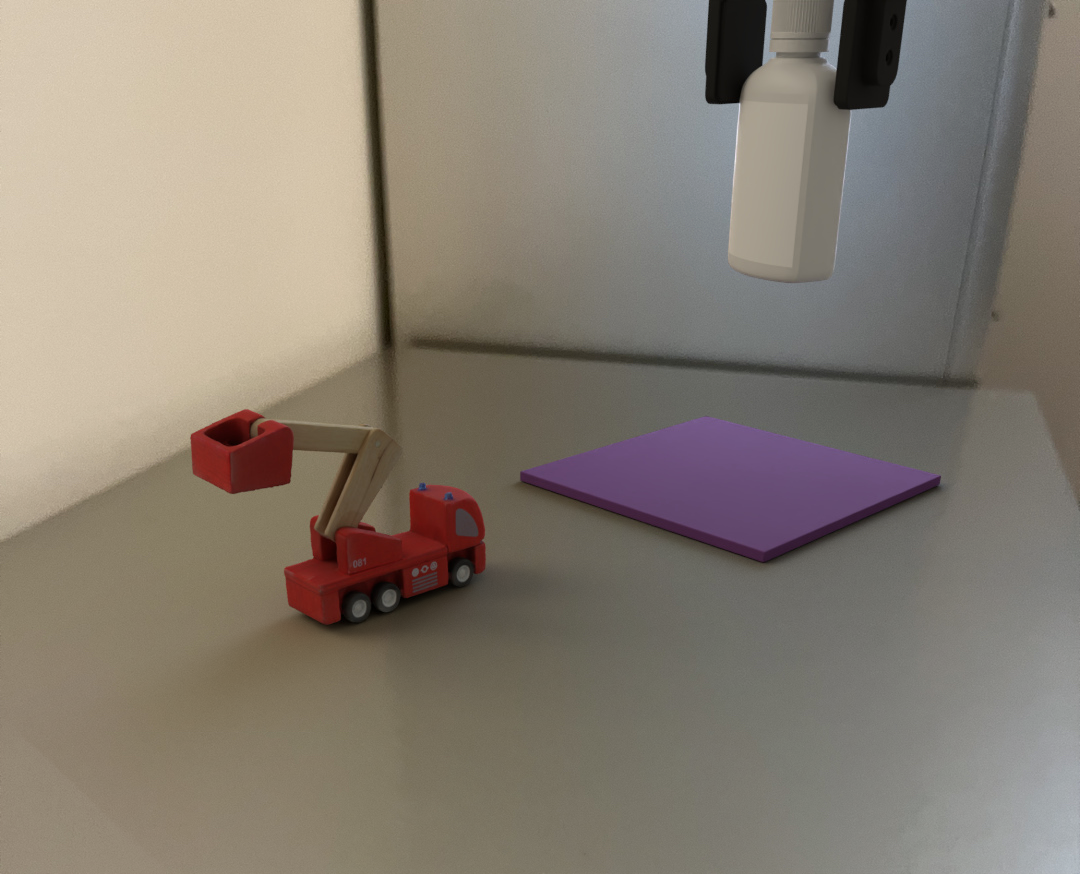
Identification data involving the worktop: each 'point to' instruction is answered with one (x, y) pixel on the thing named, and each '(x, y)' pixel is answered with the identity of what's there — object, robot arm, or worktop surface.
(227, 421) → the toy fire truck
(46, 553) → the worktop surface
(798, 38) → the eye dropper bottle
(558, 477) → the purple square mat
